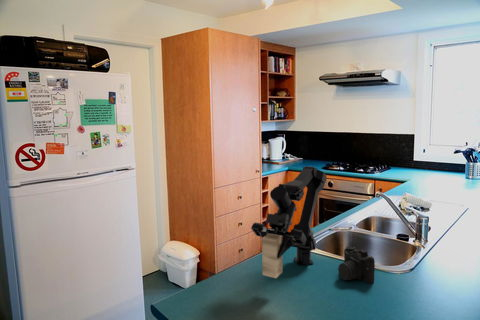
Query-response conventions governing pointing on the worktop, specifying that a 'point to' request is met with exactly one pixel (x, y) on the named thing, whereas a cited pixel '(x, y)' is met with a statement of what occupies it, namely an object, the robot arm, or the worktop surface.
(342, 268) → the camera
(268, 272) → the maple block
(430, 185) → the worktop surface
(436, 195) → the worktop surface
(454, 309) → the worktop surface
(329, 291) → the worktop surface
